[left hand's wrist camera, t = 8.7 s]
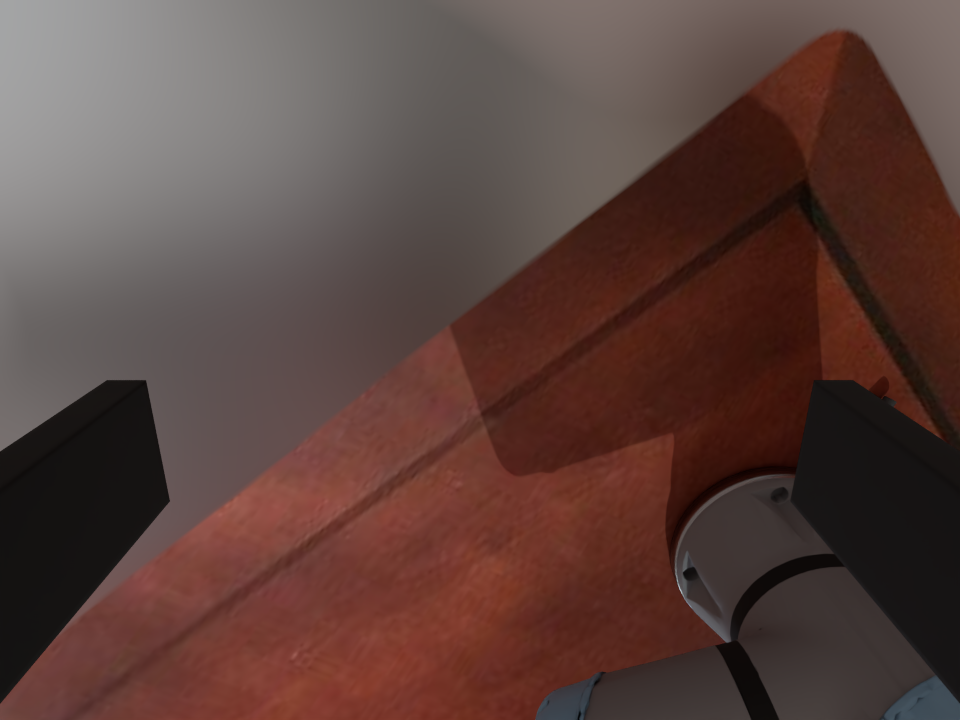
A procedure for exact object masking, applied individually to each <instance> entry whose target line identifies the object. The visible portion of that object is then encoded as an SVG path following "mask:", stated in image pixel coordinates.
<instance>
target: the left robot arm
mask: <svg viewBox="0 0 960 720" xmlns="http://www.w3.org/2000/svg"><path fill="white" fill-rule="evenodd" d="M895 404H896V401H894V400H892V399H890V398H888V397H886V396H884V397H883V399H880V398H879V397H877V396H876V395H874V394H873V393H871V392H870V391H868V390H867V389H865V388H864V387H862V386H861V385H859V384H858V383H856V382H855V381H853V380H814V383H813V388H812V393H811V398H810V403H809V408H808V413H807V418H806V424H805V429H804V434H803V439H802V444H801V449H800V454H799V459H798V464H797V469H795V468H788V467H765V468H758V469H753V470H749V471H745V472H742V473H739V474H736V475H733V476H731V477H729V478H727V479H725V480H722V481H720V482H719V483H717V484H715V485H714V486H712V487H711V488H709V489H708V490H707V491H705V492H704V493H703V494H702V495H700V496H699V497H698V498H697V499H696V500H695V501H694V502H693V503H692V504H691V505H690V507H689V508H688V509H687V510H686V512H685V513H684V515H683V516H682V518H681V519H680V521H679V523H678V525H677V527H676V530H675V532H674V535H673V539H672V543H671V551H670V560H671V567H672V571H673V574H674V577H675V580H676V582H677V584H678V586H679V589H680V591H681V593H682V595H683V597H684V599H685V600H686V602H687V603H688V604H689V606H690V607H691V608H692V609H693V610H694V612H695V613H696V614H697V615H698V616H699V617H700V618H701V619H702V620H704V621H705V622H706V623H707V624H708V625H709V626H710V627H711V628H712V629H713V630H714V631H715V632H716V633H717V634H718V635H719V636H720V637H721V638H722V639H724V640H725V641H726V642H727V643H724V644H720V645H715V646H711V647H707V648H703V649H699V650H696V651H692V652H688V653H684V654H680V655H677V656H673V657H669V658H665V659H662V660H658V661H654V662H650V663H646V664H642V665H638V666H633V667H629V668H625V669H621V670H617V671H613V672H609V673H606V672H598V673H596V674H595V675H593V676H592V677H591V678H590V679H587V680H584V681H581V682H578V683H575V684H572V685H569V686H565V687H562V688H559V689H557V690H554V691H553V692H551V693H550V694H549V695H548V696H547V697H546V698H545V699H544V700H543V702H542V703H541V705H540V707H539V709H538V712H537V716H536V720H960V451H958V450H957V449H955V448H954V447H952V446H951V445H949V444H948V443H946V442H945V441H943V440H942V439H940V438H939V437H937V436H936V435H934V434H933V433H931V432H930V431H928V430H927V429H925V428H924V427H922V426H921V425H919V424H918V423H916V422H915V421H913V420H912V419H910V418H909V417H907V416H906V415H904V414H903V413H901V412H900V411H898V410H897V409H895V408H894V405H895ZM169 502H170V500H169V495H168V489H167V484H166V479H165V474H164V469H163V464H162V459H161V454H160V449H159V444H158V439H157V434H156V429H155V424H154V419H153V414H152V408H151V403H150V398H149V393H148V388H147V383H146V380H107V381H105V382H104V383H102V384H101V385H99V386H98V387H96V388H95V389H93V390H92V391H90V392H89V393H87V394H86V395H84V396H83V397H81V398H80V399H78V400H77V401H75V402H74V403H72V404H71V405H69V406H68V407H66V408H65V409H63V410H62V411H60V412H59V413H57V414H56V415H54V416H53V417H51V418H50V419H48V420H47V421H45V422H44V423H42V424H41V425H39V426H38V427H36V428H35V429H33V430H32V431H30V432H29V433H27V434H26V435H24V436H23V437H21V438H20V439H18V440H17V441H15V442H14V443H12V444H11V445H9V446H8V447H6V448H5V449H3V450H2V451H0V703H1V702H2V701H3V700H4V698H5V697H6V696H7V695H8V694H9V693H10V691H11V690H12V689H13V688H14V687H15V685H16V684H17V683H18V682H19V681H20V679H21V678H22V677H23V676H24V675H25V673H26V672H27V671H28V670H29V669H30V667H31V666H32V665H33V664H34V663H35V661H36V660H37V659H38V658H39V657H40V656H41V654H42V653H43V652H44V651H45V650H46V648H47V647H48V646H49V645H50V644H51V642H52V641H53V640H54V639H55V638H56V636H57V635H58V634H59V633H60V632H61V630H62V629H63V628H64V627H65V626H66V624H67V623H68V622H69V621H70V620H71V618H72V617H73V616H74V615H75V614H76V613H77V611H78V610H79V609H80V608H81V607H82V605H83V604H84V603H85V602H86V601H87V599H88V598H89V597H90V596H91V595H92V593H93V592H94V591H95V590H96V589H97V588H98V586H99V585H100V584H101V583H102V582H103V580H104V579H105V578H106V577H107V576H108V574H109V573H110V572H111V571H112V570H113V568H114V567H115V566H116V565H117V564H118V562H119V561H120V560H121V559H122V558H123V556H124V555H125V554H126V553H127V552H128V550H129V549H130V548H131V547H132V546H133V545H134V543H135V542H136V541H137V540H138V539H139V537H140V536H141V535H142V534H143V533H144V531H145V530H146V529H147V528H148V527H149V526H150V524H151V523H152V522H153V521H154V520H155V518H156V517H157V516H158V515H159V513H160V512H161V511H162V510H163V509H164V508H165V506H166V505H167V504H168V503H169Z"/></svg>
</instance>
